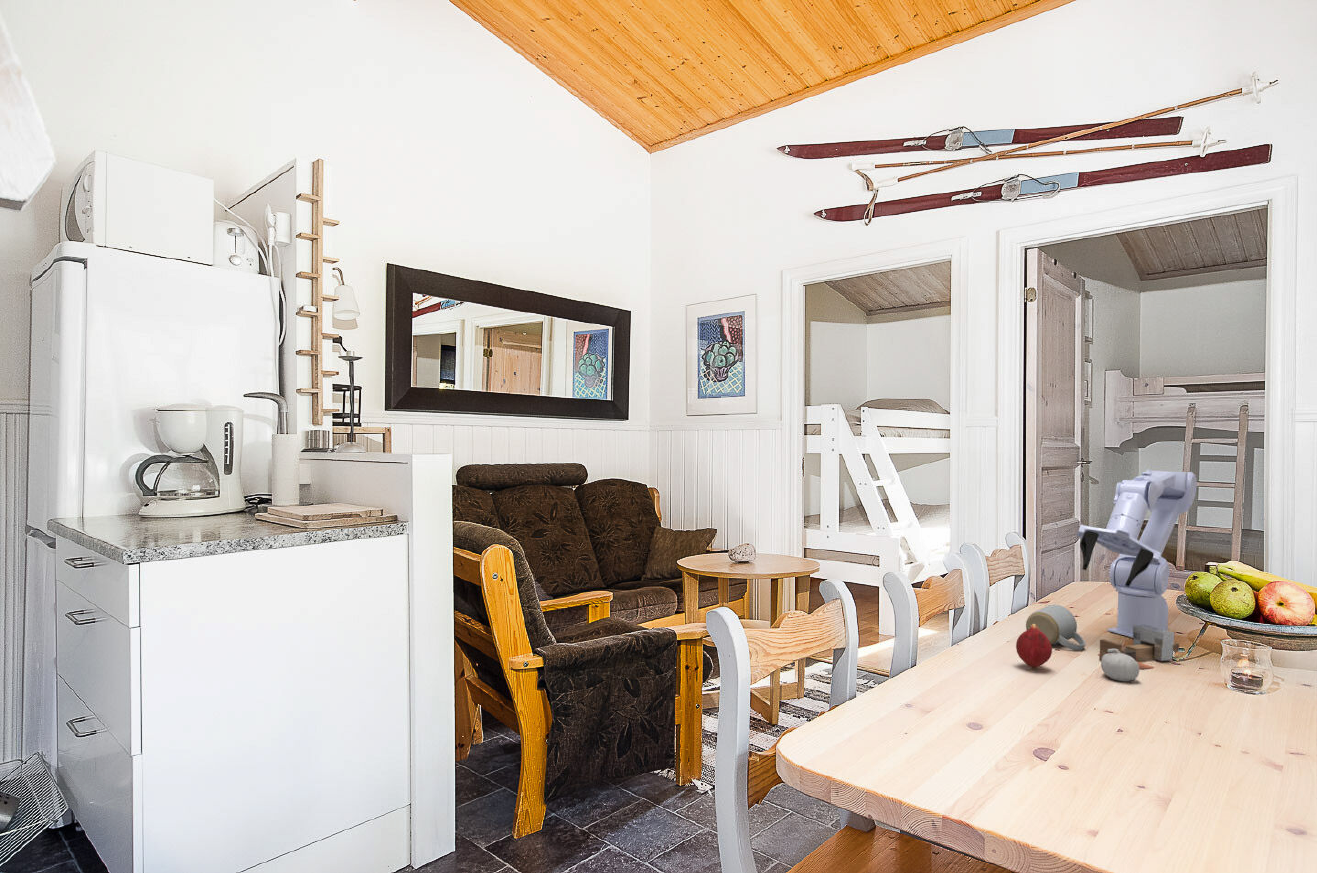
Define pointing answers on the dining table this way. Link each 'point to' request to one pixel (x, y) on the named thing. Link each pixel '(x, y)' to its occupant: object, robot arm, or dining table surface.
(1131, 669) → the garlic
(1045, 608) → the ceramic mug
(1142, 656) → the rail
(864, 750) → the dining table surface
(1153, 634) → the gray arch block
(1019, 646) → the onion
